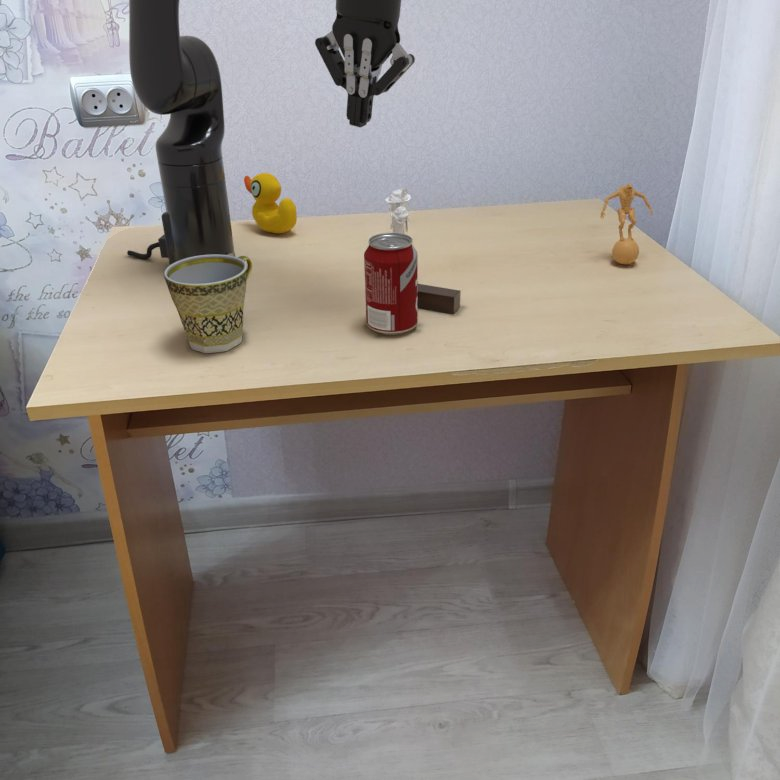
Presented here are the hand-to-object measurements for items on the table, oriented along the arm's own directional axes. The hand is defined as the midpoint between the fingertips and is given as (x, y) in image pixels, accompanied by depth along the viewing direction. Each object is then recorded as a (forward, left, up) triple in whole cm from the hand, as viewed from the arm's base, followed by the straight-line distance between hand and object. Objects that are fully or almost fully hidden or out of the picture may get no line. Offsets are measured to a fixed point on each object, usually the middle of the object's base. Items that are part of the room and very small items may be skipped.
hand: (358, 124), depth 97 cm
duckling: (-22, +27, -24) cm, 43 cm away
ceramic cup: (-16, -14, -24) cm, 32 cm away
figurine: (+37, +20, -24) cm, 49 cm away
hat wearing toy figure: (+2, +17, -24) cm, 30 cm away
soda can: (+5, -8, -24) cm, 26 cm away
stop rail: (+8, 0, -24) cm, 25 cm away
